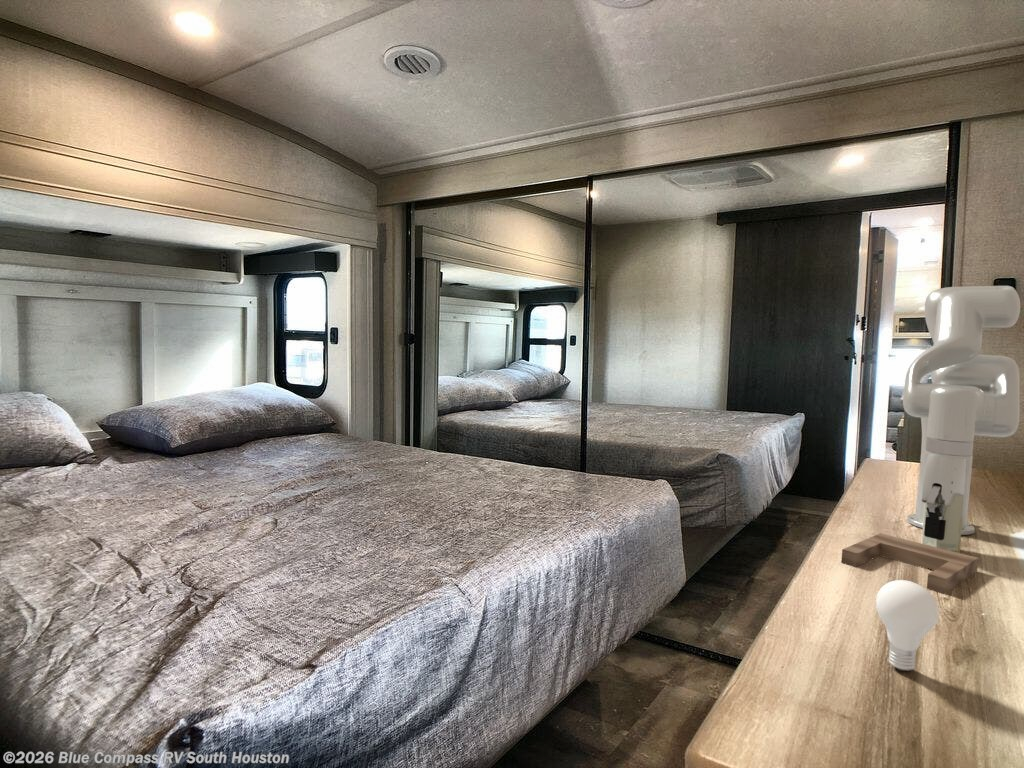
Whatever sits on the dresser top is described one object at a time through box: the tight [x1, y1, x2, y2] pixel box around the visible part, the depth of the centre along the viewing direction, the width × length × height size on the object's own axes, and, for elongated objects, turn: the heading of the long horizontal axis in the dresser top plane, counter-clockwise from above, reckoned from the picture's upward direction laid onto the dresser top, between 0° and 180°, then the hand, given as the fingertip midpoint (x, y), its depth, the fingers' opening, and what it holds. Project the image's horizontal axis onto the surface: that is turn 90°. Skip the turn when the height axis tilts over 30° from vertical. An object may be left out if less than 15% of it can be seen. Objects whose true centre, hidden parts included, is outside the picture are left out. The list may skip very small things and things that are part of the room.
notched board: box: [840, 532, 979, 594], centre depth 106 cm, size 18×16×2 cm
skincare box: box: [921, 494, 964, 553], centre depth 116 cm, size 6×4×12 cm
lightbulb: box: [875, 579, 940, 672], centre depth 70 cm, size 6×6×11 cm
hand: (940, 534), depth 117 cm, fingers closed on skincare box, 7 cm apart
